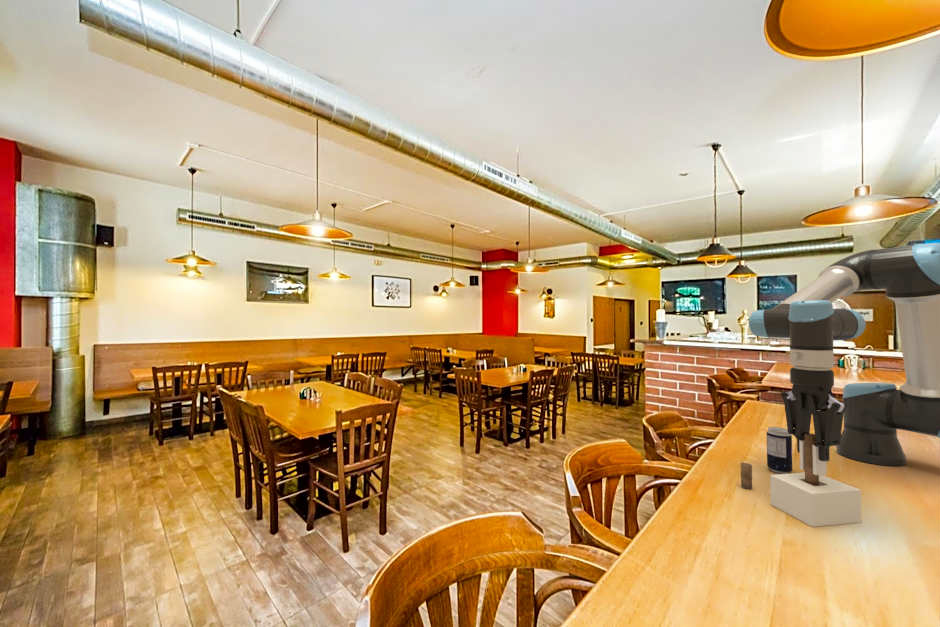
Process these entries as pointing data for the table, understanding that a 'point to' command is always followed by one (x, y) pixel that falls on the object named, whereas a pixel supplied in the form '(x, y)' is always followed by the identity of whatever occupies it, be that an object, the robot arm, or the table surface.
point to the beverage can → (779, 450)
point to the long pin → (810, 460)
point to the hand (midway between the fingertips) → (813, 471)
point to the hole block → (816, 499)
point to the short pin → (746, 476)
